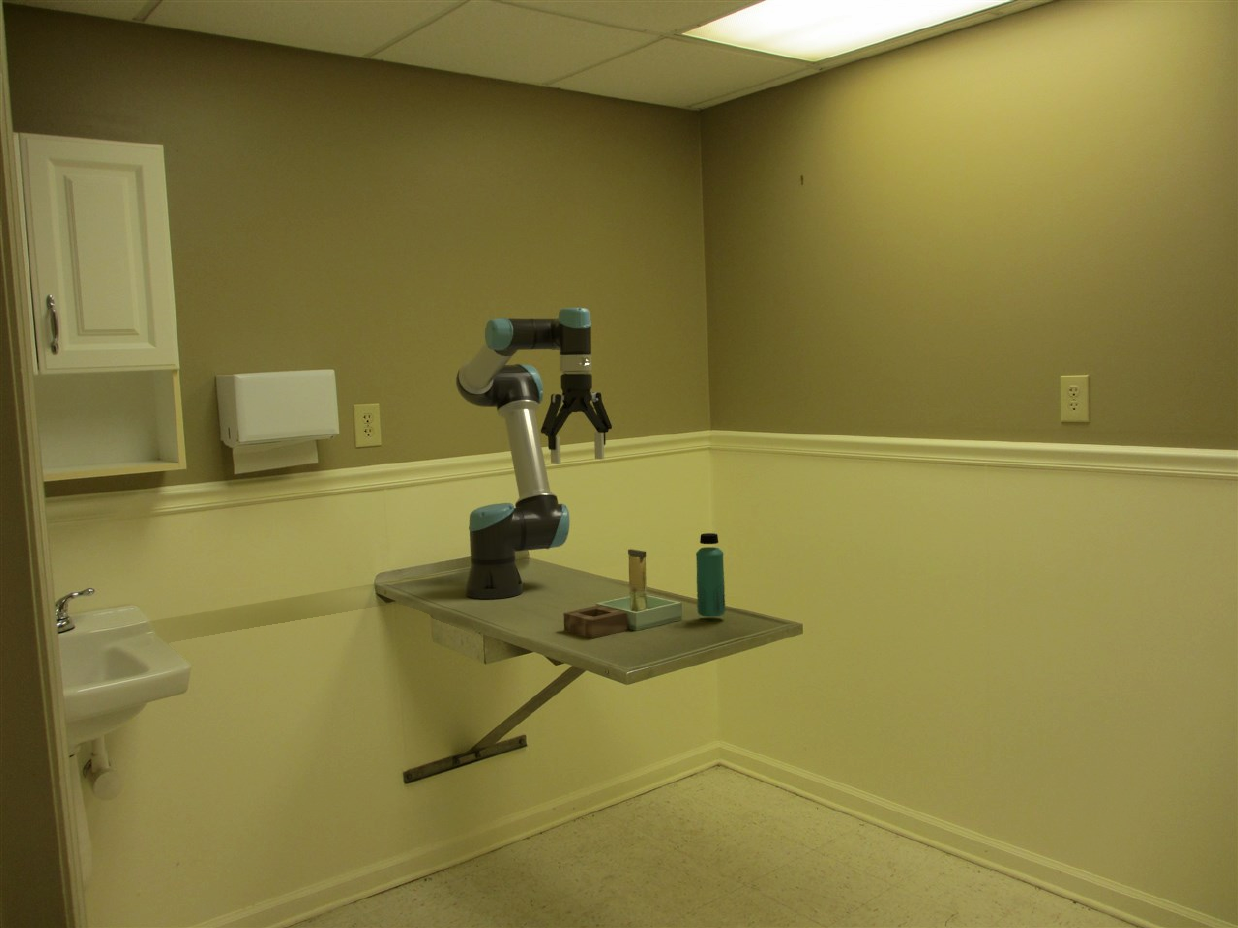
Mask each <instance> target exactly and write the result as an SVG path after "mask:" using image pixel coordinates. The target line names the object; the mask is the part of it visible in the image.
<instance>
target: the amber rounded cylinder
mask: <svg viewBox="0 0 1238 928" xmlns="http://www.w3.org/2000/svg"><path fill="white" fill-rule="evenodd" d="M627 555H628V589H629V590H628V591H629V593H628V594H629V596H630V610H631V611H635V612H638V611H643V610H647V595H648V592H647V591H648V585H647V558H646V557H647V551H645V550H638V549H633V548H630V549H627Z"/></svg>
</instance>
